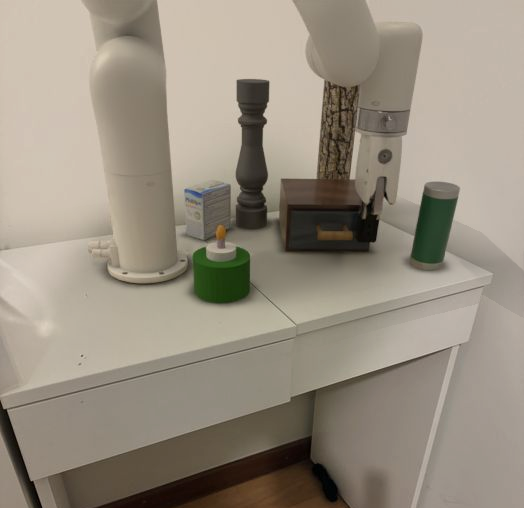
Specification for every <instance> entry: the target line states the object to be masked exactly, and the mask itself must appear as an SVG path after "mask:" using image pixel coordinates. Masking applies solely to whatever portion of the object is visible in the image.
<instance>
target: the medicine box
mask: <svg viewBox="0 0 524 508" xmlns="http://www.w3.org/2000/svg"><path fill="white" fill-rule="evenodd" d="M231 186H232V185H231V184H230V183H227V182H224V181H221V180H217V179H211V180H207V181H204V182H200V183H198V184H194V185H192V186H188V187H186V188H184V190H183V192H184V210H185V212H184V213H185V226H186V227H185V230H186V235H187V236H189V237H192V238H195V239H198V240H201V241H206V240H207V239H209V238H212V237H214V236H216V230H217V228H218V226H220V225H222V226H223V227H224V228H225V231H227V230H230V229H231V227H232V221H231V220H232V219H231V216H232V215H231V214H232V212H231V211H232V209H231V207H232V206H231V205H232V200H231V199H232V195H231V194H232V192H231V191H232V190H231V189H232V187H231Z"/></svg>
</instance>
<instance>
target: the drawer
mask: <svg viewBox="0 0 524 508" xmlns="http://www.w3.org/2000/svg"><path fill="white" fill-rule="evenodd" d="M358 215H359V210H300V209H292V210H291V216H290V234H289V249H368V243H369V242H357V240H356V238H355V235H356V227H357V220H358Z"/></svg>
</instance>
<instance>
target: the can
mask: <svg viewBox="0 0 524 508" xmlns="http://www.w3.org/2000/svg"><path fill="white" fill-rule="evenodd" d="M460 191H461V187H460V186H459V185H457V184H454V183H451V182H446V181H428V182H425V183H424V185H423V191H422V195H421V200H420V204H419V211H418V216H417V220H416V225H415V231H414V236H413V241H412V247H411V250H410V251H411V252H410V257H409V264H410V265H411V266H412V267H414V268H416V269H418V270H423V271H438V270H440V269H442V268H443V263H444V260H445V255H446V252H447V248H448V243H449V239H450V236H451V235H450V234H451V230H452V226H453V222H454V217H455V213H456V209H457V205H458V200H459V195H460Z"/></svg>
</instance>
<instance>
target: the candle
mask: <svg viewBox="0 0 524 508" xmlns="http://www.w3.org/2000/svg"><path fill="white" fill-rule="evenodd" d="M226 236H227V230H225V228H224V227H223V226H222V225H220V226H218V228H217V230H216V235H215V237H216V241H214V242H209V243H208V244H206V246H203V247H200V248H198V249H197V250H195V251H194V252H193V253H192V255H191V257H192V274H193V276H192V277H193V293H194V295H195V296H196V297H197V298H198V299H200V300H202V301H205V302H208V303H211V304H231V303H236V302H239V301H241V300H243V299H246V298H247V297H248V296H249V294H250V292H251V253H250V252H249V250H246V249H245V248H243V247H240V246H237V245H236V244H235V243H233V242H230V241H226Z"/></svg>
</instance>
